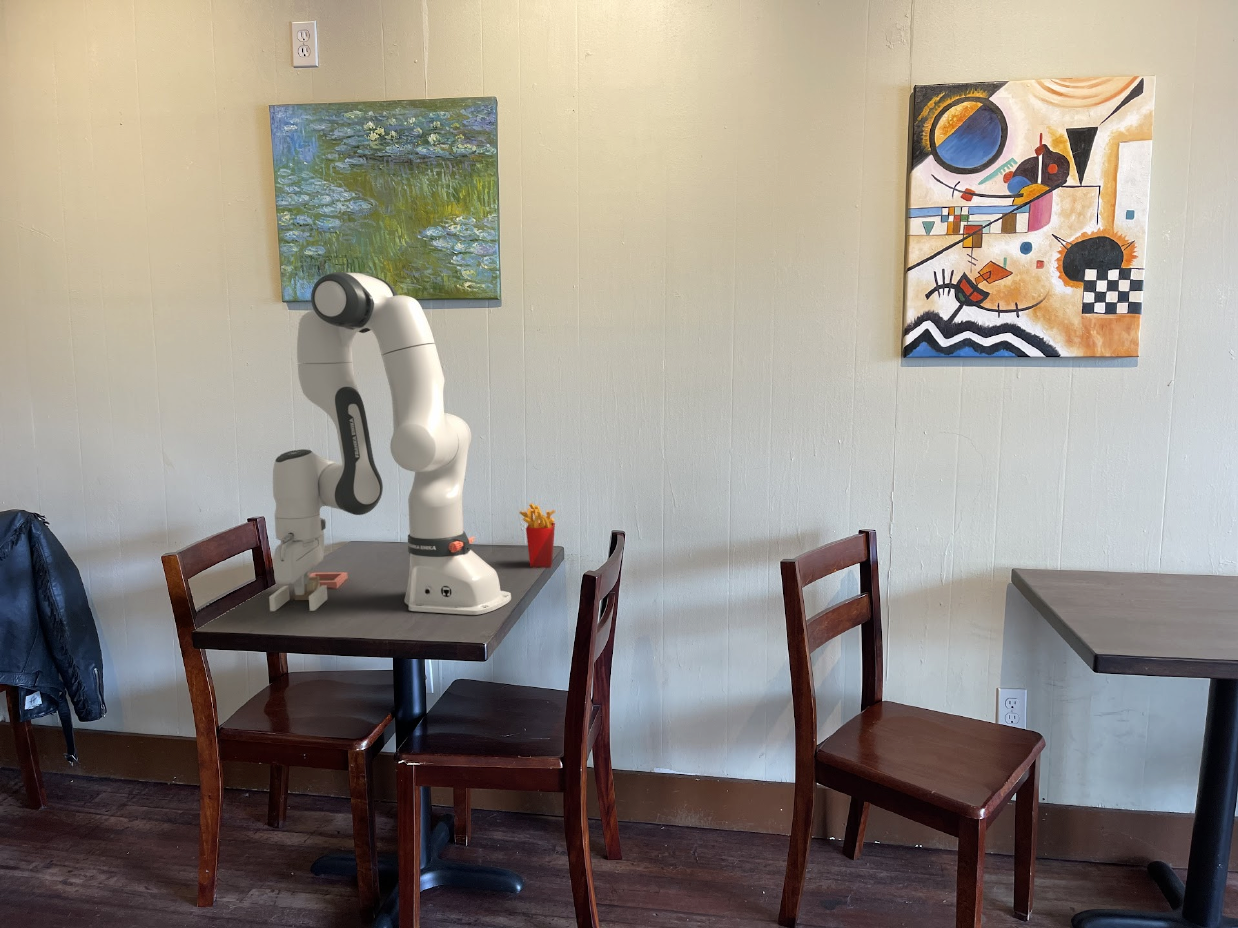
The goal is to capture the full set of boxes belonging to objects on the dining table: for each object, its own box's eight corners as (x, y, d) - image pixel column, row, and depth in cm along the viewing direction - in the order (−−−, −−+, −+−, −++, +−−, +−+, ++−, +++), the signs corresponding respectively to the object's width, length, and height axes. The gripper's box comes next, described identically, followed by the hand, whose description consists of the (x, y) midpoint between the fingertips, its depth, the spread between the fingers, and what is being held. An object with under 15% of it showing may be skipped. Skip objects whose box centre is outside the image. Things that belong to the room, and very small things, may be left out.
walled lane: (314, 610, 173) (313, 596, 173) (270, 611, 173) (269, 596, 173) (327, 598, 181) (326, 585, 181) (284, 599, 181) (283, 585, 181)
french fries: (556, 561, 211) (555, 501, 209) (553, 570, 203) (552, 508, 201) (521, 561, 211) (519, 502, 209) (516, 570, 203) (514, 508, 201)
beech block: (313, 599, 181) (312, 581, 180) (294, 600, 181) (293, 581, 180) (320, 594, 185) (319, 576, 184) (301, 594, 185) (300, 576, 184)
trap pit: (336, 588, 189) (336, 581, 189) (300, 588, 189) (300, 582, 189) (347, 578, 197) (347, 572, 197) (312, 579, 197) (312, 572, 197)
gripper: (296, 539, 167) (300, 607, 169) (328, 518, 187) (331, 580, 189) (263, 539, 167) (267, 608, 168) (299, 519, 187) (302, 580, 189)
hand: (301, 593), depth 179 cm, fingers closed
